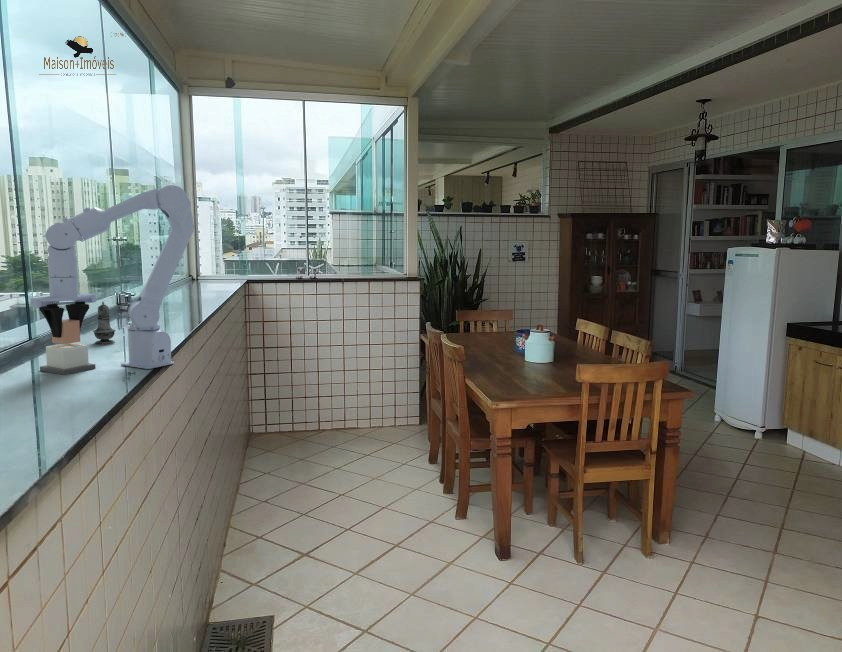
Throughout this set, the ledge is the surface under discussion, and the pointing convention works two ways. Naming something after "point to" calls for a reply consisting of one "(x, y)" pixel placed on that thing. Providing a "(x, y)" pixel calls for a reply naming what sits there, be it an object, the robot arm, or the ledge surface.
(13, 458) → the ledge surface
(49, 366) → the tower base
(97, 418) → the ledge surface
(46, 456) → the ledge surface
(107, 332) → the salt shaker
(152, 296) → the robot arm
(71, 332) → the terracotta brick
